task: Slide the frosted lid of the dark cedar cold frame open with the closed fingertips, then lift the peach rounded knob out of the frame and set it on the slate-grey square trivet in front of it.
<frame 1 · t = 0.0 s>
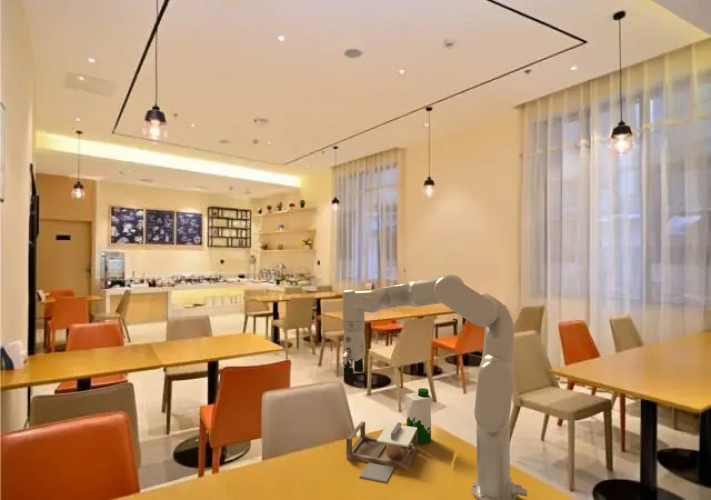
hand: (353, 375, 137), 31 cm above the table, tool pointing down, fingers open, 9 cm apart
cold frame: (382, 456, 144), on the table
lid: (397, 431, 143), point 9 cm above the table, slide at 0.0 cm
milk carton: (418, 443, 155), on the table
trivet: (377, 476, 131), on the table
peach rounded knob: (393, 455, 143), point 1 cm above the table, touching cold frame
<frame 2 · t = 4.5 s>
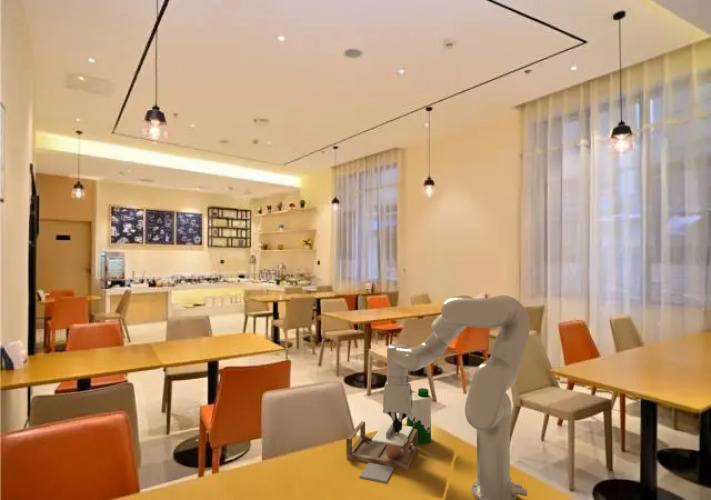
hand: (397, 431, 143), 10 cm above the table, tool pointing down, fingers closed
lid: (392, 431, 143), point 9 cm above the table, slide at 1.7 cm, touching gripper
everything else where it was.
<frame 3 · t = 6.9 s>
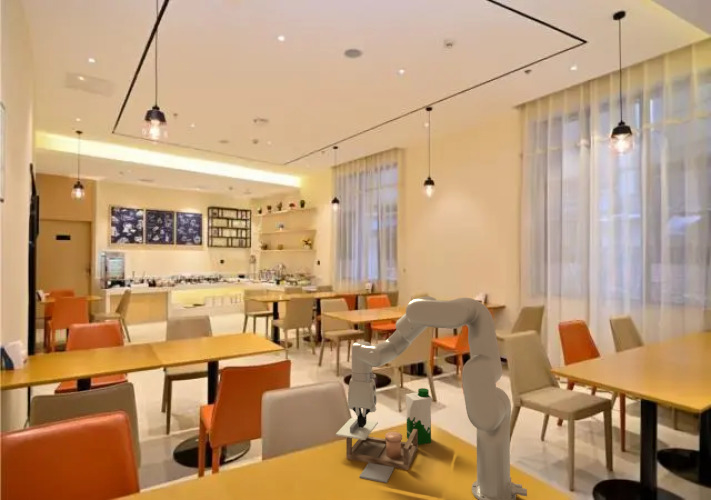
hand: (361, 425, 148), 10 cm above the table, tool pointing down, fingers closed
lid: (357, 425, 148), point 9 cm above the table, slide at 15.2 cm
everything else where it was.
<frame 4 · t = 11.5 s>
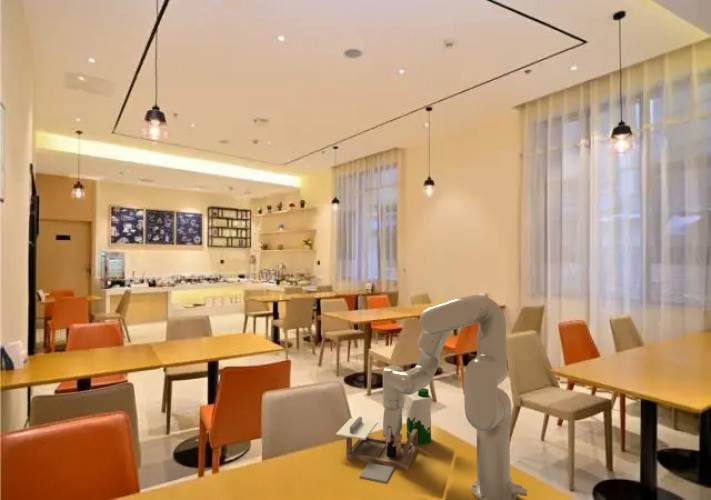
hand: (393, 452, 143), 2 cm above the table, tool pointing down, fingers closed on peach rounded knob, 5 cm apart
peach rounded knob: (393, 455, 143), point 1 cm above the table, touching cold frame, gripper
everything else where it was.
when the fingers open (3 cm above the table, at t = 17.4 s): peach rounded knob stays where it is, resting on trivet.
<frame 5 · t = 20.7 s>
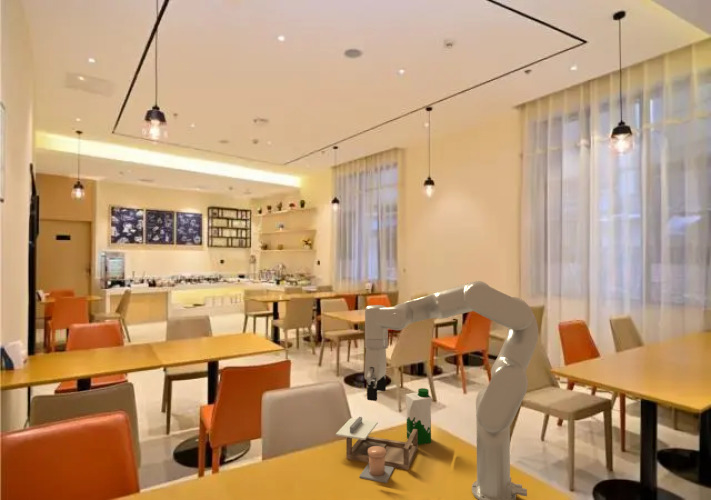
hand: (376, 395, 132), 26 cm above the table, tool pointing down, fingers open, 9 cm apart
peach rounded knob: (376, 471, 131), point 2 cm above the table, touching trivet
everything else where it was.
at the end: lid slide at 15.3 cm; peach rounded knob inside the target area (0.3 cm from its centre), point 1.5 cm above the table; peach rounded knob tilted 0° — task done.
